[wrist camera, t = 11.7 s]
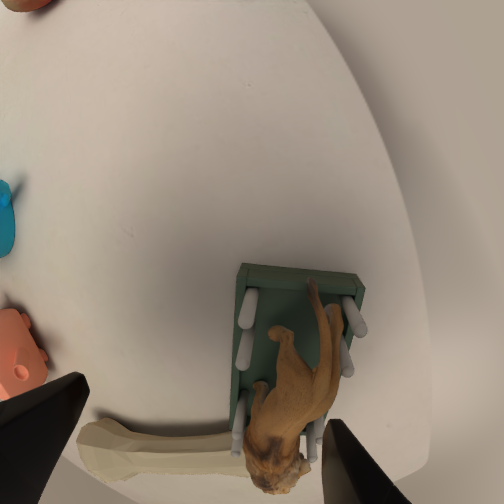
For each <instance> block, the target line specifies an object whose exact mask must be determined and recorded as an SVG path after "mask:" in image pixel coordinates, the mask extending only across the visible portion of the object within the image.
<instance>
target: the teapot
mask: <svg viewBox="0 0 504 504" xmlns="http://www.w3.org/2000/svg"><path fill="white" fill-rule="evenodd" d="M30 327H31V323H30V320H29V318H28V317H27V315H26V314H24V313H22V314H21V315H20V314H19V312H18V311H17V310H15V309H0V399H3V400H7V399H10V398H12V397H15V396H17V395H20V394H22V393H25V392H27V391H29V390H32V389H34V388H37V387H39V386H41V385H42V384H43V383H44V382H45V380H46V378H47V375H48V369H47V367H46V365H45V362H44V361H48V357H47V355H46V353H45V352H44V351H43V350H42V349H41V348H37V346H36V343H35V342H34V340H33V338H32V336H31V334H30V332H29V330H28V329H29V328H30Z"/></svg>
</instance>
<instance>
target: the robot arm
mask: <svg viewBox="0 0 504 504" xmlns="http://www.w3.org/2000/svg"><path fill="white" fill-rule="evenodd" d="M89 393H90V389H89V386H88V383H87V380H86V378H85V376H84V374H81V373H79V372H72V373H70V374H68V375H65V376H63V377H61V378H58V379H56V380H53V381H51V382H49V383H46V384H44V385H42V386H39V387H37V388H34V389H32V390H29V391H27V392H25V393H22V394H20V395H17V396H15V397H12V398H10V399H7V400H4V401H2V402H0V504H38V502H39V500H40V497H41V494H42V492H43V490H44V488H45V486H46V483H47V482H48V479H49V477H50V475H51V473H52V471H53V469H54V467H55V465H56V463H57V461H58V459H59V457H60V455H61V453H62V451H63V449H64V447H65V445H66V444H67V442H68V440H69V438H70V436H71V434H72V432H73V430H74V428H75V427H76V425H77V423H78V420H79V418H80V415H81V413H82V411H83V408H84V406H85V403H86V401H87V399H88V396H89ZM322 484H323V495H324V504H412V503H411V502H410V501H409V500H407V498H406V497H405V496H404V495H403V494H402V493H401V492H400V491H399V489H398V488H397V487H396V486H395V485H394V484H393V482H392V481H391V480H390V479H389V478H388V476H387V475H386V474H385V473H384V472H383V470H382V469H381V468H380V467H379V465H378V464H377V463H376V462H375V461H374V459H373V458H372V457H371V456H370V454H369V453H368V452H367V451H366V450H365V448H364V447H363V446H362V445H361V443H360V442H359V441H358V440H357V438H356V437H355V436H354V435H353V433H352V432H351V431H350V430H349V428H348V427H347V426H346V424H345V423H344V422H343V421H342V420H341V419H330V420H329V421H328V423H327V425H326V427H325V430H324V432H323V437H322ZM393 485H394V486H393Z"/></svg>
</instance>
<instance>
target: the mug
mask: <svg viewBox="0 0 504 504" xmlns="http://www.w3.org/2000/svg"><path fill="white" fill-rule="evenodd" d="M10 197H11V191H10V188H9V185H8V183H6V182H4V181H3V180H0V258H1V257H4V256H6V255H7V254H8V253H9V252H10V251H11V248H12V246H13V242H14V237H15V221H14V213H13V208H12V205H11V201H10Z"/></svg>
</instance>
